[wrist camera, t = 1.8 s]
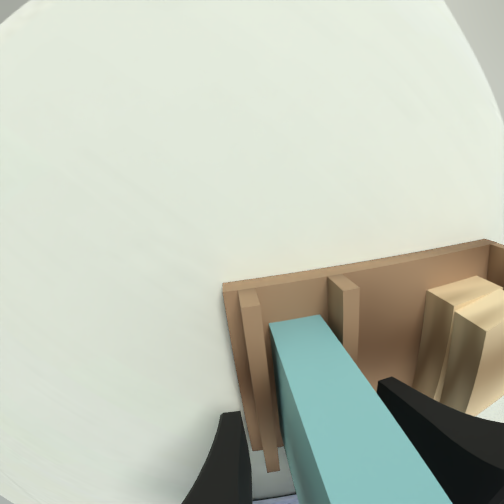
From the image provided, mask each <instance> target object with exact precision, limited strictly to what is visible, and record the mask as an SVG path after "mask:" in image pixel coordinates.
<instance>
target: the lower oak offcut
mask: <svg viewBox="0 0 504 504" xmlns="http://www.w3.org/2000/svg"><path fill="white" fill-rule="evenodd" d="M499 288H500V289H502V290H503V287H501V286H499V285H496V284H494V283H492V282H490V281H488V280H485V279H483V278H481V277H479V276H474V277H470V278H467V279H464V280H460V281H457V282H453V283H450V284H447V285H443V286H439V287H436V288H432V289H428V290H427V293H426V304H425V313H424V321H423V329H422V336H421V342H420V348H419V354H418V360H417V365H416V370H415V375H414V380H413V384H412V388H414V389H415V390H417V391H419V392H421V393H423V394H424V395H426V396H428V397H430V398H432V399H434V400H436V401H438V402H440V399H441V394H442V390H443V385H444V381H445V376H446V370H447V365H448V359H449V353H450V347H451V339H452V332H453V323H454V313H455V311H456V310H458V309H460V308H463V307H465V306H467V305H469V304H471V303H473V302H475V301H477V300H479V299H481V298H483V297H484V296H486V295H488V294H490V293H492V292H494V291H496V290H498V289H499Z"/></svg>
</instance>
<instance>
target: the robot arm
mask: <svg viewBox="0 0 504 504" xmlns="http://www.w3.org/2000/svg"><path fill="white" fill-rule="evenodd" d="M376 393H377V394H378V396H379V397H380V399H381V400H382V402H383V403H384V404H385V406H386V407H387V409H388V410H389V411H390V413H391V414H392V416H393V417H394V419H395V420H396V421H397V423H398V424H399V426H400V427H401V429H402V430H403V431H404V433H405V434H406V436H407V437H408V439H409V440H410V442H411V443H412V444H413V446H414V447H415V449H416V450H417V452H418V453H419V455H420V456H421V458H422V459H423V460H424V462H425V463H426V465H427V466H428V468H429V469H430V471H431V472H432V474H433V475H434V477H435V478H436V480H437V481H438V483H439V484H440V486H441V487H442V489H443V490H444V492H445V493H446V495H447V496H448V498H449V499H450V501H451V502H452V504H504V423H500V422H495V421H490V420H486V419H482V418H478V417H475V416H472V415H469V414H466V413H463V412H460V411H458V410H455V409H453V408H451V407H448V406H446V405H444V404H442V403H440V402H438V401H436V400H434V399H432V398H430V397H428V396H426V395H424V394H423V393H421V392H419V391H417V390H415V389H414V388H412V387H410V386H408V385H407V384H405V383H403V382H401V381H400V380H398V379H396V378H394V377H392V376H391V377H388V378H385V379H382V380H379V381H378V385H377V392H376ZM182 504H299V501H298V498H297V494H295V495H290V496H285V497H279V498H273V499H266V500H259V501H252V476H251V464H250V457H249V450H248V444H247V440H246V435H245V431H244V426H243V421H242V417H241V412H240V411H236V412H228V413H223V414H221V415H220V421H219V425H218V429H217V432H216V435H215V438H214V441H213V444H212V447H211V449H210V452H209V454H208V457H207V459H206V461H205V463H204V465H203V467H202V470H201V472H200V474H199V476H198V478H197V480H196V481H195V483H194V485H193V487H192V488H191V490H190V492H189V493H188V495H187V496H186V498H185V499H184V501H183V502H182Z"/></svg>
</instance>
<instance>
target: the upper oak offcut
mask: <svg viewBox="0 0 504 504" xmlns="http://www.w3.org/2000/svg"><path fill="white" fill-rule="evenodd" d="M503 395H504V290H502V289H500V288H499V289H498V290H496V291H494V292H492V293H490V294H488V295H486V296H484V297H483V298H481V299H479V300H477V301H475V302H473V303H471V304H469V305H467V306H465V307H463V308H460V309H458V310H456V311H455V313H454V323H453V332H452V339H451V347H450V353H449V359H448V365H447V370H446V376H445V381H444V385H443V390H442V394H441V399H440V403H442V404H444V405H446V406H448V407H451V408H453V409H455V410H458V411H460V412H463V413H466V414H469V415H472V416H476V415H478V414H479V413H481V412H482V411H483V410H485V409H486V408H488V407H489V406H490V405H492V404H493V403H494V402H496V401H497V400H498V399H500V398H501V397H502V396H503Z"/></svg>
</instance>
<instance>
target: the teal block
mask: <svg viewBox="0 0 504 504" xmlns="http://www.w3.org/2000/svg"><path fill="white" fill-rule="evenodd" d="M269 331H270V340H271V350H272V359H273V368H274V378H275V387H276V397H277V406H278V416H279V426H280V432H281V436H282V440H283V444H284V447H285V451H286V455H287V459H288V463H289V467H290V471H291V475H292V479H293V482H294V486H295V490H296V494H297V498H298V501H299V504H452V502H451V501H450V499H449V498H448V496H447V495H446V493H445V492H444V490H443V489H442V487H441V486H440V484H439V483H438V481H437V480H436V478H435V477H434V475H433V474H432V472H431V471H430V469H429V468H428V466H427V465H426V463H425V462H424V460H423V459H422V458H421V456H420V455H419V453H418V452H417V450H416V449H415V447H414V446H413V444H412V443H411V442H410V440H409V439H408V437H407V436H406V434H405V433H404V431H403V430H402V429H401V427H400V426H399V424H398V423H397V421H396V420H395V419H394V417H393V416H392V414H391V413H390V411H389V410H388V409H387V407H386V406H385V404H384V403H383V402H382V400H381V399H380V397H379V396H378V394H377V393H376V392H375V390H374V389H373V387H372V386H371V385H370V383H369V382H368V380H367V379H366V378H365V376H364V375H363V373H362V372H361V371H360V369H359V368H358V366H357V365H356V364H355V362H354V361H353V359H352V358H351V357H350V355H349V354H348V353H347V351H346V350H345V348H344V347H343V346H342V344H341V343H340V341H339V340H338V339H337V337H336V336H335V335H334V333H333V332H332V330H331V329H330V328H329V326H328V325H327V324H326V322H325V321H324V320H323V318H322V317H321V315H320V314H319V315H314V316H308V317H303V318H297V319H292V320H286V321H280V322H274V323H269Z"/></svg>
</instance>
